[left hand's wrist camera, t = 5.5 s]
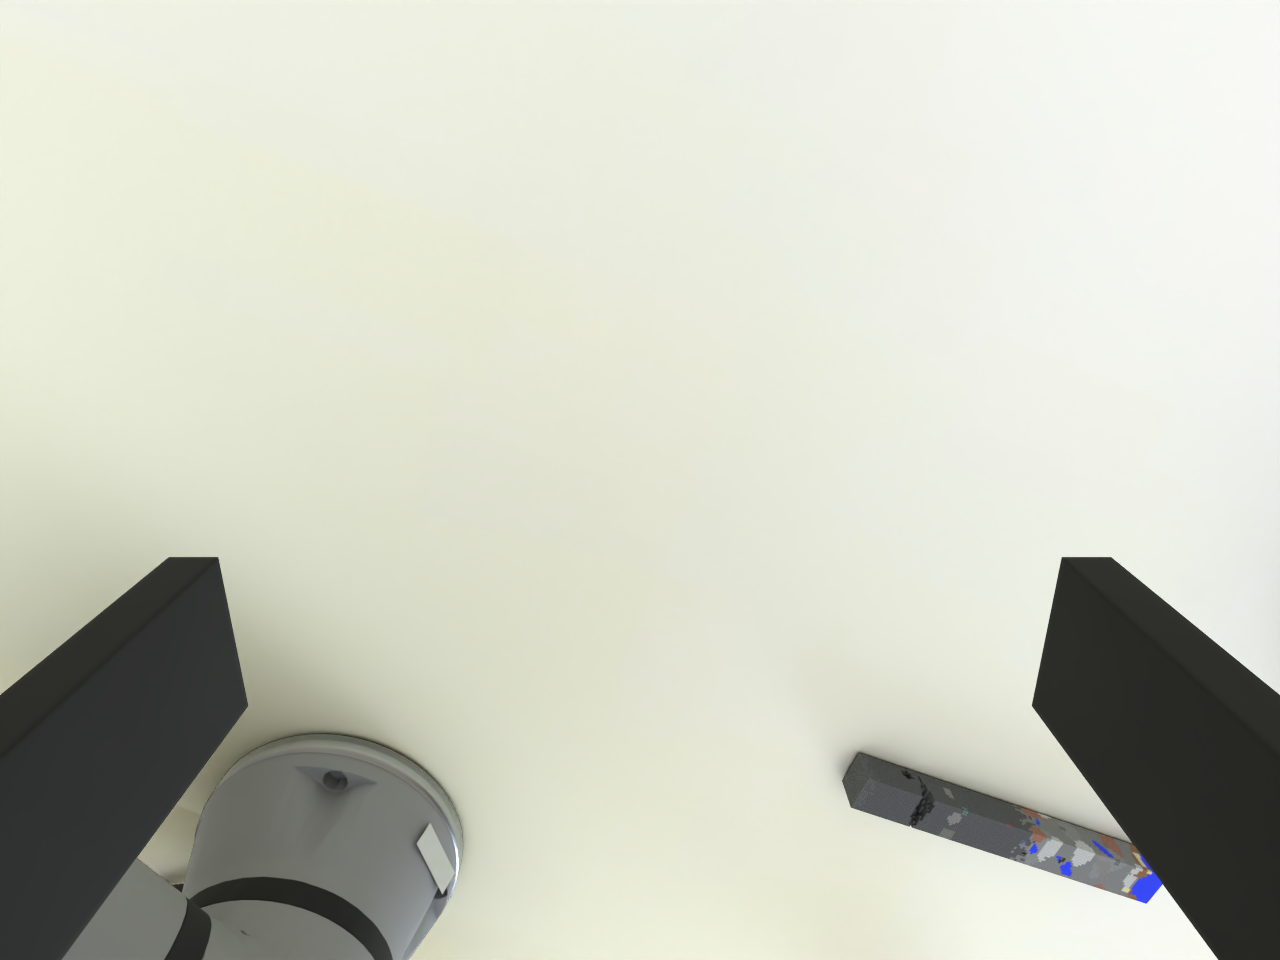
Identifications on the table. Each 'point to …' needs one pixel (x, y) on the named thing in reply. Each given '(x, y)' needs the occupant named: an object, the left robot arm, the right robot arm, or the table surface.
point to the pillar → (998, 828)
